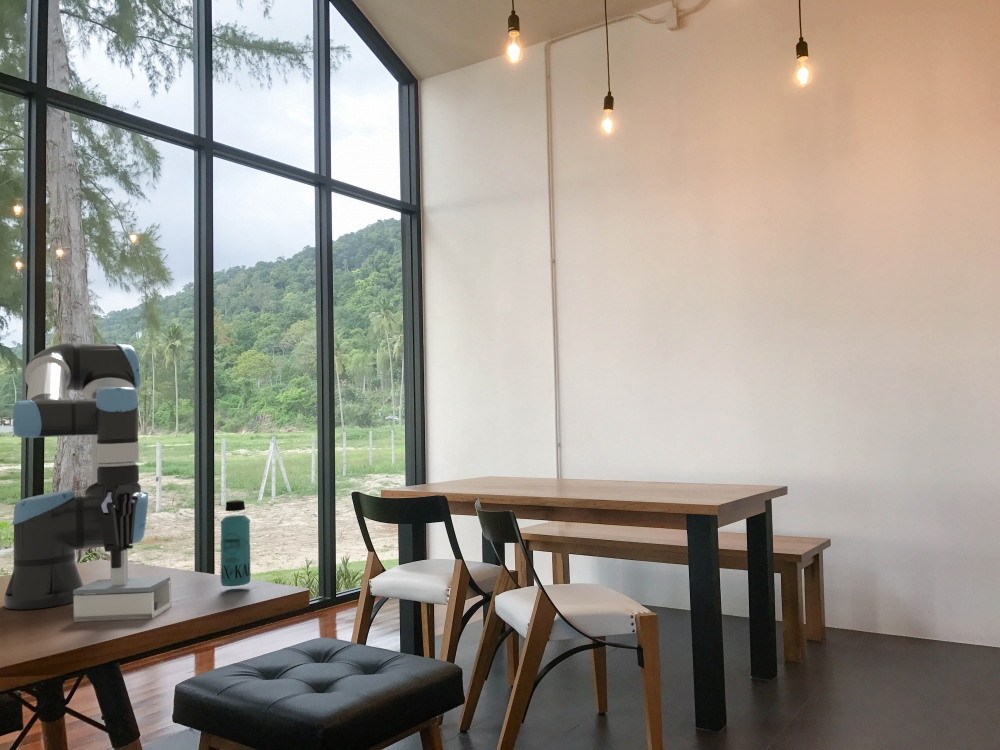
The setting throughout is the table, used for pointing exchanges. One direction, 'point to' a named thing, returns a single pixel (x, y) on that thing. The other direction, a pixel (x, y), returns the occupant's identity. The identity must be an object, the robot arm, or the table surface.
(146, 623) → the table surface
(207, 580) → the table surface
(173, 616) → the table surface
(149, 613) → the white boxy piece
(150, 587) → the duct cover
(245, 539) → the beverage bottle
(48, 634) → the table surface
